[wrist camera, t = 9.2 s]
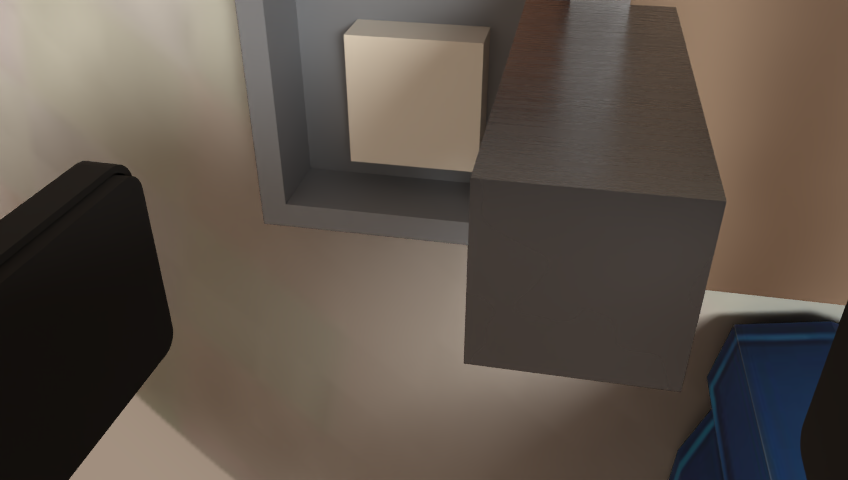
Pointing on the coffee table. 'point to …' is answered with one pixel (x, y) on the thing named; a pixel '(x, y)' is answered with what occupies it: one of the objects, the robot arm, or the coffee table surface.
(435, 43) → the tile cream
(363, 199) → the box
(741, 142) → the brown tray
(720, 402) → the book
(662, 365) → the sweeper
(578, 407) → the coffee table surface
